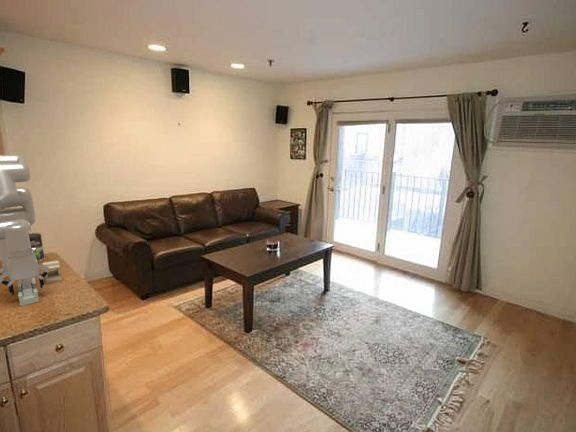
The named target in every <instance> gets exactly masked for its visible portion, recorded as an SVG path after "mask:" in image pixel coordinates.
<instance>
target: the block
mask: <svg viewBox="0 0 576 432" xmlns="http://www.w3.org/2000/svg"><path fill="white" fill-rule="evenodd" d="M41 264H42V265H41V266H46V267H49V271H48V273H47V275H46V276H45V277H44V280H45V283H46V285H49V284H54V283H57V282H58V283H59V282H63V276H62V271H61V265H60V262H59V260H58V259H56V260H51V261H45V262H42V263H41ZM44 271H45V270H43V272H44Z"/></svg>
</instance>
